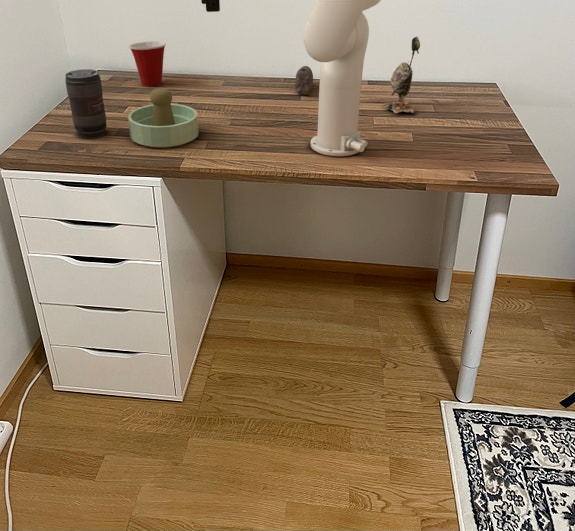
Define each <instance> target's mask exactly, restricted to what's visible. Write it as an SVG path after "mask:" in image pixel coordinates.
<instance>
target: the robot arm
mask: <svg viewBox="0 0 575 531" xmlns="http://www.w3.org/2000/svg"><path fill="white" fill-rule="evenodd" d="M220 1H221V0H200V2H201V4H202V5H205V11H206V12H207V13H219V12H220V11H221V3H220ZM381 1H382V0H316V1H315V3H314V5H313V8H312V10H311V13H310V15H309V17H308V19H307V22H306V25H305V28H304V32H303V44H304V48H305V51H306V53H307V54H308V56H309V57H310V58H311V59H313V60H315V61H316V62H319V63H321V64H320V70H319V88H318V90H319V91H318V110H317V111H318V112H317V134H316V135H315V136H313V137H312V138H311V140H310V148H311V149H312V150H313V151H314V152H316V153H318V154H321V155H325V156H329V157H349V156H353V155H357V154H358V153H363V152H364V151H365V148H366V147H367V146H368V143H369V142H368V140H366V139H362V138H361V134H362V131H361V130H359V117H360V108H361V106H360V105H361V104H360V103H361V94H362V82H363V72H364V71H363V70H364V64H365V62H364V61H365V57H366V52H367V47H368V43H369V37H370V36H369V35H370V25H369V22H368V19H367V17H366V15H365V14H364V11H366V10H368V9H371V8H373V7H375V6H376V5H378V4H379V3H380V2H381Z"/></svg>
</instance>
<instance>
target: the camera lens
mask: <svg viewBox="0 0 575 531" xmlns="http://www.w3.org/2000/svg"><path fill="white" fill-rule="evenodd" d="M101 79H102V78H101V76H100V74H99V71H98V70H96V69H91V68H90V69H76V70H70V71H68V72H66V73H65V81H64V82H65V88H66V93H67V97H68V99H69V106H70V112H71V118H72V123H73V127H74V129H75V131H76V133H77V136H78V137H79V138H82V139H91V140H92V139H97V138H100V137H104V135H105V134H106V128H107V115H106V110H105V103H104V97H103V86H102V80H101Z"/></svg>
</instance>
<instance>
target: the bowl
mask: <svg viewBox="0 0 575 531" xmlns="http://www.w3.org/2000/svg"><path fill="white" fill-rule="evenodd" d="M171 107H172V112H173V116H174V121H175V125H169V126H153V104H148V105H143V106H141V107H138V108H135V109H133V110H131V111H130V112H129V113H128V114H127V122H128V131H129V137H130V139H131V141H132V142H134V143H136V144H139V145H140V146H141V145H142V146H145V147H150V148H171V147H177V146H182V145H185V144H188V143H190V142H192V141H194V140H195V139H196V138H198V136H199V134H200V132H199V131H200V129H199V117H198V111H197V110H196V109H195V108H193V107H190V106H189V105H184V104H179V103H171Z"/></svg>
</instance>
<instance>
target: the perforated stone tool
mask: <svg viewBox="0 0 575 531" xmlns="http://www.w3.org/2000/svg"><path fill="white" fill-rule="evenodd" d="M313 74H314V73H313V71H312V69H311V67H310V66H308V65H303V66H301V67H300V68H298V70H297V71H296V74H295V83H294V88H295V91H296V92H297V94H299V95H306V96H307V95H309V94H310V93H311V91H312V89H313V84H314V75H313Z"/></svg>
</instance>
